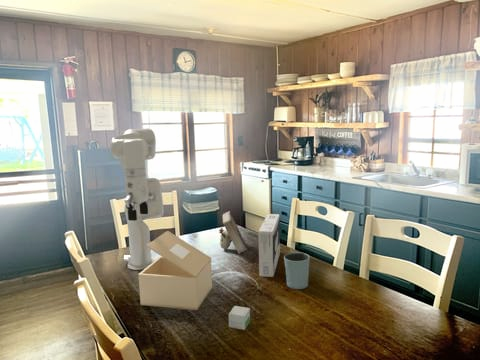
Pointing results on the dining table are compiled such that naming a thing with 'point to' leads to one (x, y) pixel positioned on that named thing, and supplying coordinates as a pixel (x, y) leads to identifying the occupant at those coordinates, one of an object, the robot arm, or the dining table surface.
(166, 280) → the carton
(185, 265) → the lid flap
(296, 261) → the blue gray cup
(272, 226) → the packaging
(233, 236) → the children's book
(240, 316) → the small box
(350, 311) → the dining table surface
